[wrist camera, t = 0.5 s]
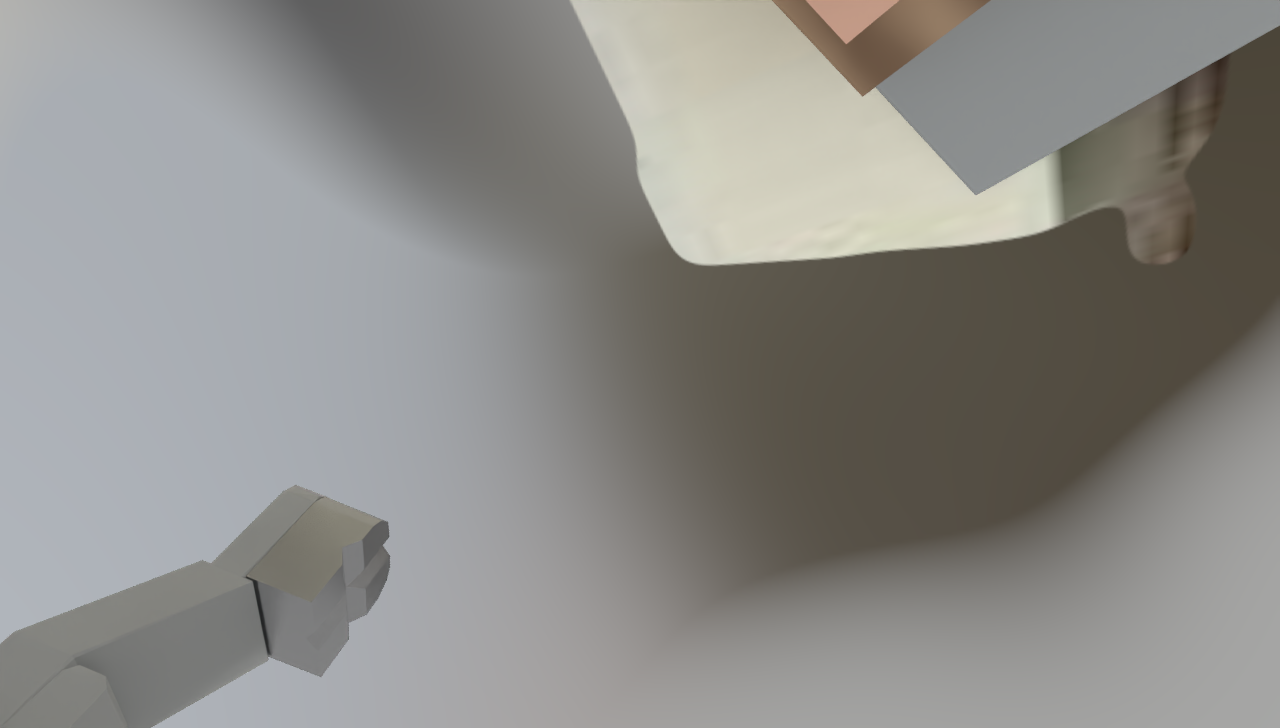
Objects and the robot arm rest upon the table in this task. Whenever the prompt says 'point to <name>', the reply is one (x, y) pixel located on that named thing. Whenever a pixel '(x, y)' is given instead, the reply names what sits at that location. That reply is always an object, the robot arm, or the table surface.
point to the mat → (1057, 73)
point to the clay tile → (850, 14)
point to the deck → (881, 36)
